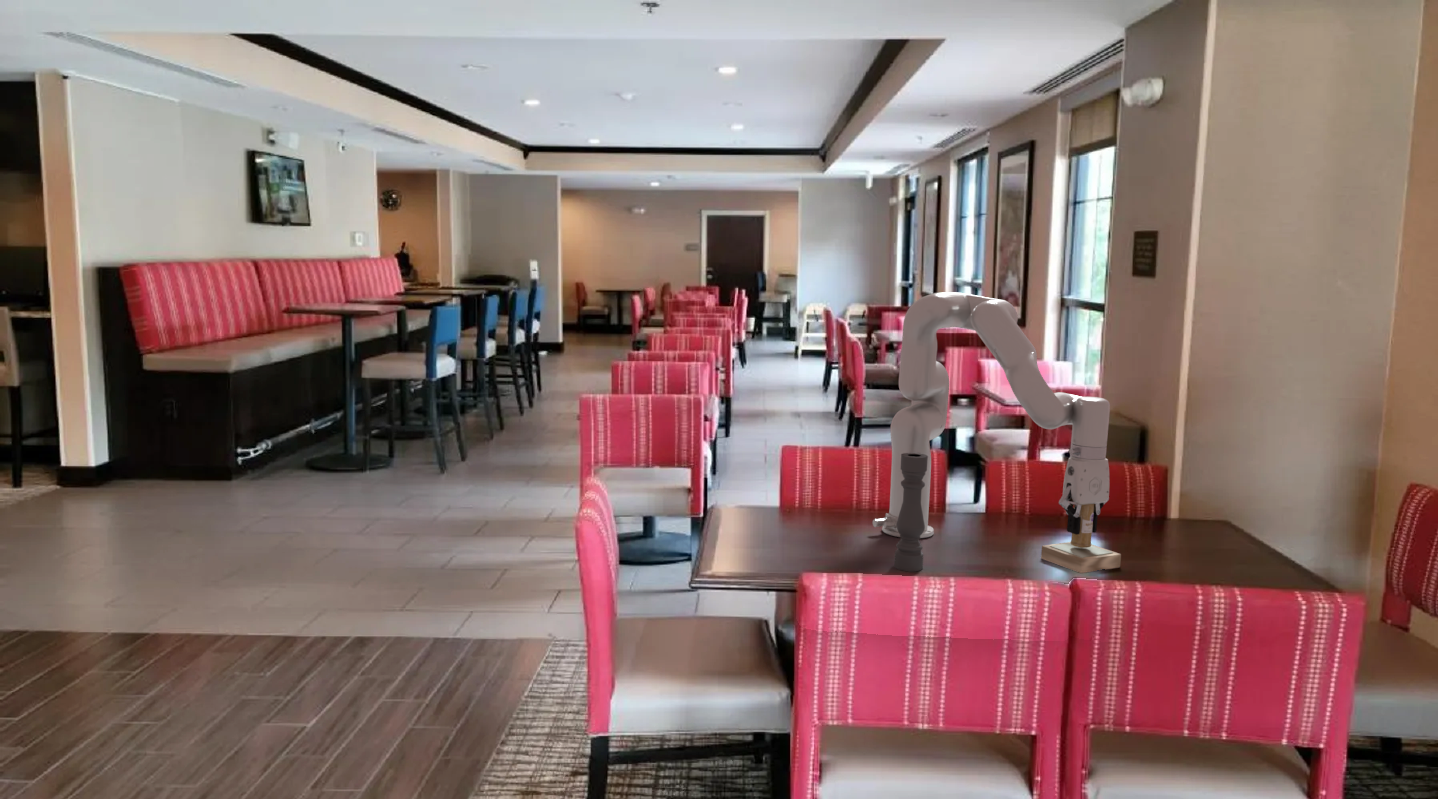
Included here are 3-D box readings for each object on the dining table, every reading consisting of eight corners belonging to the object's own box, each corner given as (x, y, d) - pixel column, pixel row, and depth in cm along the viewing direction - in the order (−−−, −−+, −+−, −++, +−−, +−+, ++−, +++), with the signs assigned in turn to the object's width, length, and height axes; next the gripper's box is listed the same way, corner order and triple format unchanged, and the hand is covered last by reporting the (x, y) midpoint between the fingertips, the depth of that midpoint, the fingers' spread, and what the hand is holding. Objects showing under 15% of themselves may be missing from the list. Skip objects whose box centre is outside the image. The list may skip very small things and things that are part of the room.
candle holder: (891, 563, 231) (896, 452, 227) (918, 563, 231) (924, 452, 228) (898, 571, 225) (904, 458, 221) (926, 571, 225) (932, 458, 222)
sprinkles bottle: (1090, 549, 231) (1096, 490, 230) (1069, 546, 233) (1074, 488, 231) (1091, 544, 236) (1096, 486, 234) (1070, 541, 237) (1075, 484, 235)
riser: (1080, 573, 227) (1081, 559, 226) (1040, 558, 237) (1041, 544, 237) (1120, 567, 232) (1121, 553, 232) (1079, 553, 243) (1080, 539, 242)
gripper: (1072, 457, 224) (1066, 539, 227) (1128, 453, 232) (1121, 532, 234) (1047, 451, 231) (1041, 531, 233) (1102, 447, 239) (1095, 524, 241)
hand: (1081, 531), depth 234 cm, fingers closed on sprinkles bottle, 4 cm apart
